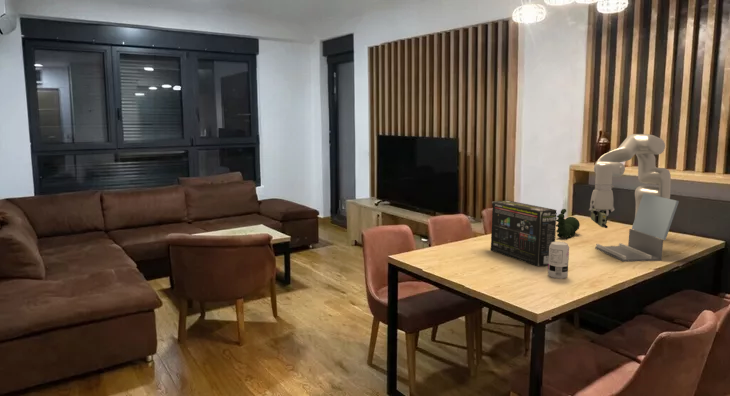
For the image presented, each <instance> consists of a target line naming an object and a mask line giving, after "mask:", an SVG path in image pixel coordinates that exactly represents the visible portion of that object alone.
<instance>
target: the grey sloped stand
mask: <svg viewBox="0 0 730 396" xmlns="http://www.w3.org/2000/svg"><path fill="white" fill-rule="evenodd" d="M663 245H664V240H663V239H660V238H657V237H653V236H650V235H647V234H644V233H642V232H639V231H636V230H634V229H632V228H629V232H628V245H626V244H623V243H621V242H620V243H619V245H617V246H615V245H610V246H609V245H608V246H607V245H606V246H604V245H601V244H600V243H596V246H595V247H594V249H595V250H598V251H600V252H602V253H604V254H606V255H608V256H611V257H613V258H615V259H617V260H618V261H621V262H623V263H624V262H655V261H656V262H657V261H663V260H662V257H663V250H664V249H663V247H664V246H663Z"/></svg>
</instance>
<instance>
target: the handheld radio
mask: <svg viewBox="0 0 730 396" xmlns="http://www.w3.org/2000/svg"><path fill="white" fill-rule="evenodd" d="M593 210H594V211H595V209H593ZM606 217H607V215H606V214H605V213H604V211H603V210H600V212H599V216H598V224H597V225H598V226H599V227H601V228H605V229H608V227H609V226H608V225H607V224H606ZM607 218H608V217H607ZM590 219H591V221H593V222H594V223H595V215H594V213H593V212H591V211H590Z"/></svg>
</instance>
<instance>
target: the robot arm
mask: <svg viewBox="0 0 730 396" xmlns="http://www.w3.org/2000/svg"><path fill="white" fill-rule="evenodd" d="M665 148H666V144H665V140H663V139H662V138H660V137H658V136H656V135H653V134H647V133H633V134H629V135H628V136H627V137H626V138H625V139H624V140H623V141H622V142H621V143H620V145H619V146H618V148H615V149H612V150H610V151H608V152H606V153H604V154H602V155H601V156H600V157H599V158H598V159H597V160H596V162H595V164H594V166H593V172H594V173H595V181H594V182H595V183H594V184H595V185H594V189H593V190H592V193H591V197H590V203H589V209H588V211H589V212H590V213H591V212H593V213H594V215H595V222H594V223H595V224H597V225H598V216H599V212H600V211H603V212H604V213H605V214H606V215H607V217H606V225H607V223H608V218H609V217H608V216H610V214H611V213H612V212H614V211H615V206H614V193H613V190H612V189H613V188H614V187H615V185H614V184H613V178H619V177H622V176H623V174H624V173H625V171H626V169H625V168H626V166H625V165H624V164H623V163H624V162H628V161H629V160H632V159H633V158H634V156H635V155H636V157H637V178H638V182H639V183H640V184H644V185H639V186H637V187H636V188H635V190H634V199H635V213H634V218H635V217H636V214H637V211H638V208H639V205H640V202H641V199H642V196H643V193H645V194H650V195H654V196H659V197H663V198H667V199H671V188H672V187H671V184H672V183H671V182H672V181H671V179H672V178H671V172H670V170H669V169H668V168H666V167H657V166H656V156H655V155H661V154H663V153H664V151H665ZM656 185H657V186H656ZM593 209H595V211H594V210H593ZM636 231H637V230H636ZM639 232H640V231H639ZM642 233H643V232H642ZM644 234H646V233H644ZM647 235H648V234H647ZM650 236H651V235H650ZM653 237H654V236H653Z"/></svg>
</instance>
